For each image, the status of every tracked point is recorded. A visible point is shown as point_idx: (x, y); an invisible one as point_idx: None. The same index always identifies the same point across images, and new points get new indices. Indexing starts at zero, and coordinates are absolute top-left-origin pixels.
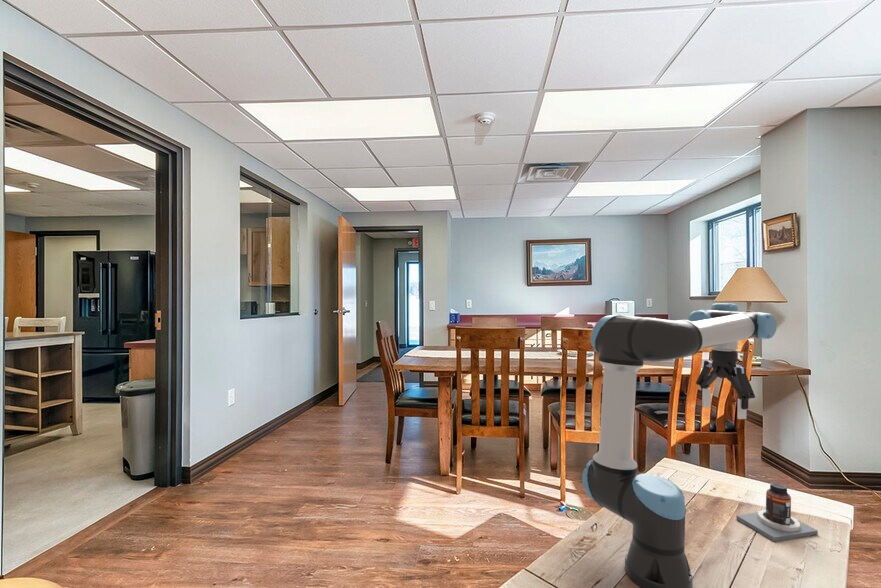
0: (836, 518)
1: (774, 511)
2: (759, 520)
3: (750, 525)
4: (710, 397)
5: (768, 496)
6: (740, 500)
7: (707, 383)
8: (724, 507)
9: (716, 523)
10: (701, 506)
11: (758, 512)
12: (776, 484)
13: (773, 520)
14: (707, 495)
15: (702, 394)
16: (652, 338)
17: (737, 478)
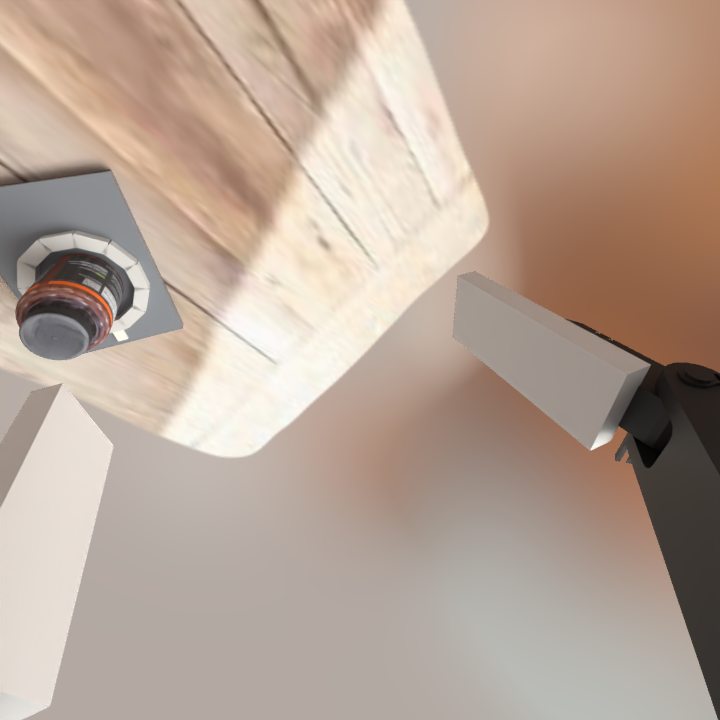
0: (178, 429)
1: (44, 272)
2: (86, 230)
3: (48, 179)
4: (509, 382)
5: (55, 282)
6: (252, 272)
7: (691, 472)
8: (200, 189)
9: (45, 49)
10: (196, 99)
11: (119, 251)
12: (64, 335)
13: (56, 260)
14: (281, 189)
15: (572, 324)
16: None
17: (369, 339)
